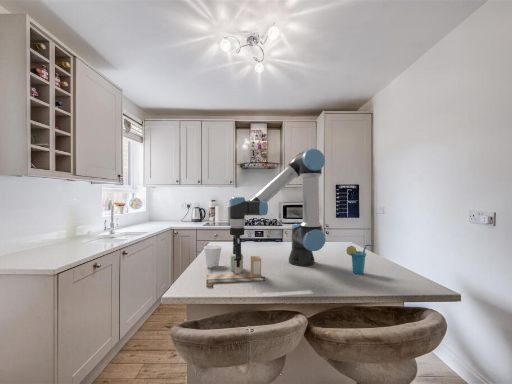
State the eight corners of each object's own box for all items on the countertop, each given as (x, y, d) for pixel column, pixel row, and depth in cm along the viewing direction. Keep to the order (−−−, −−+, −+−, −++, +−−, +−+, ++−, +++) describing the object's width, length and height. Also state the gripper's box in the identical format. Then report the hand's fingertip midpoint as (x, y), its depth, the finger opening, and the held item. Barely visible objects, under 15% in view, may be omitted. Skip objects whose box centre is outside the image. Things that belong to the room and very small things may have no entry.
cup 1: (218, 270, 139) (218, 249, 139) (200, 268, 141) (200, 248, 141) (224, 265, 149) (224, 245, 149) (207, 263, 151) (207, 244, 151)
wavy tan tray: (259, 275, 131) (259, 269, 131) (264, 283, 119) (264, 277, 119) (206, 277, 126) (206, 271, 126) (206, 286, 115) (206, 279, 115)
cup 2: (368, 270, 141) (368, 242, 141) (376, 275, 133) (377, 245, 133) (343, 271, 139) (343, 243, 139) (350, 276, 131) (351, 246, 131)
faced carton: (258, 274, 128) (258, 255, 128) (261, 278, 122) (261, 259, 122) (250, 274, 128) (250, 256, 128) (252, 278, 122) (252, 259, 122)
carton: (230, 271, 136) (230, 254, 136) (242, 271, 137) (242, 253, 138) (231, 274, 132) (231, 256, 133) (243, 273, 134) (243, 255, 134)
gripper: (228, 224, 145) (227, 264, 145) (231, 229, 123) (231, 277, 122) (241, 224, 147) (241, 264, 146) (247, 229, 124) (247, 276, 124)
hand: (236, 270), depth 134 cm, fingers open, 11 cm apart
